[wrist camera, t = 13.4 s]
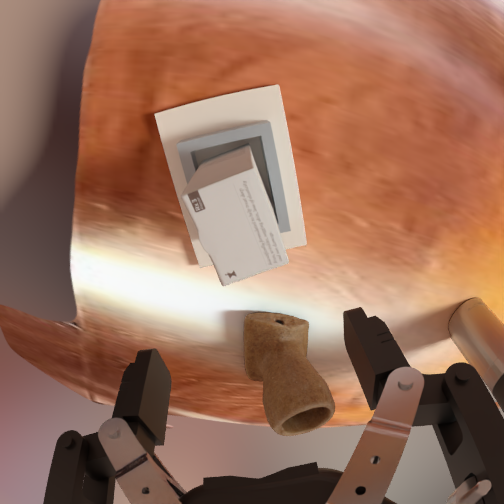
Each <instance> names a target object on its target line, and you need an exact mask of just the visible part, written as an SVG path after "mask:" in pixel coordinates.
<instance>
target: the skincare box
mask: <svg viewBox="0 0 504 504" xmlns="http://www.w3.org/2000/svg"><path fill="white" fill-rule="evenodd" d="M181 199H182V201H183V203H184V205H185V207H186V209H187V211H188V213H189V215H190V217H191V219H192V221H193V223H194V225H195V228H196V230H197V232H198V235H199V240H200V243H201V245H202V247H203V249H204V250H205V251H206V252H207V253H208V255H209V257H210V259H211V261H212V263H213V265H214V267H215V269H216V272H217V274H218V277H219V280H220V282H221V284H222V285H223V286H226V285H229V284H231V283H234V282H237V281H240V280H243V279H246V278H249V277H251V276H254V275H257V274H259V273H262V272H265V271H267V270H271V269H274V268H277V267H280V266H283V265H285V264H288V263H289V260H288V256H287V253H286V250H285V246H284V243H283V240H282V237H281V234H280V230H279V227H278V224H277V220H276V217H275V214H274V210H273V207H272V204H271V201H270V198H269V197H268V194H267V192H266V190H265V187H264V185H263V182H262V179H261V177H260V174H259V171H258V168H257V166H256V163H255V160H254V157H253V154H252V151H251V147H250V144H249V143H247V144H244V145H242V146H239V147H236V148H234V149H231V150H229V151H226V152H223V153H221V154H218V155H216V156H213V157H211V158H208V159H206V160H203V161H202V163H201V164H200V166H199V167H198V169H197V170H196V172H195V173H194V175H193V176H192V178H191V180H190V181H189V183H188V184H187V186H186V188H185V189H184V191H183V192H182V194H181Z"/></svg>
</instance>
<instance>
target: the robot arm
mask: <svg viewBox="0 0 504 504" xmlns="http://www.w3.org/2000/svg"><path fill="white" fill-rule="evenodd" d="M343 318H344V340H345V346H346V349H347V352H348V355H349V357H350V359H351V362H352V364H353V367H354V369H355V372H356V374H357V377H358V379H359V382H360V384H361V387H362V389H363V392H364V394H365V397H366V399H367V402H368V405H369V407H370V410H374V409H376V410H375V412H374V415H373V417H372V419H371V421H369V422H368V423H367V425H366V427H365V429H364V432H363V434H362V436H361V438H360V441H359V442H358V445H357V447H356V449H355V451H354V453H353V455H352V457H351V459H350V461H349V463H348V465H347V467H346V469H345V470H344V472H341V471H338V470H334V469H328V468H318V466H317V462H314V463H310V464H304V465H300V466H295V467H289V468H286V469H284V470H281V471H279V472H276V473H274V474H271V475H269V476H266V477H263V478H259V479H256V478H246V477H236V476H221V477H209V478H204V480H203V481H204V482H203V485H200V486H198V487H196V488H194V489H192V490H190V491H188V492H186V491H185V490H184V489H183V488H182V487H181V486H180V485H179V483H178V482H177V481H176V480H175V479H174V477H173V476H172V475H171V474H170V472H169V471H168V470H167V469H166V467H165V466H164V465H163V463H162V462H161V461H160V459H159V458H158V457H157V455H156V454H155V453H154V448H155V446H157V445H164V440H165V431H166V421H167V414H168V406H169V398H170V391H171V376H170V373H169V370H168V369H167V367H166V365H165V363H164V361H163V360H162V358H161V356H160V354H159V352H158V351H157V349H155V348H154V349H147V350H140V351H138V353H137V357H136V360H135V363H130V365H129V366H128V367H127V369H126V370H125V371H124V374H123V378H122V381H121V382H122V383H121V385H120V388H119V389H120V391H119V392H118V396H117V400H116V404H115V407H114V411H113V415H112V418H111V419H109V420H107V421H105V422H104V423H103V424H102V425H101V427H100V429H99V431H98V432H96V433H93V434H89V435H86V436H81V435H80V434H79V433H78V432H77V431H74V430H70V431H67V432H65V433H64V434H62V435H61V436H60V437H59V439H58V440H57V443H56V447H55V451H54V455H53V459H52V464H51V468H50V473H49V477H48V482H47V487H46V492H45V497H44V503H43V504H113V500H114V489H115V479H116V480H117V482H118V484H119V485H120V487H121V489H122V490H123V492H124V494H125V495H126V497H127V498H128V500H129V502H130V503H131V504H397V503H395V502H393V501H391V500H389V499H388V498H386V497H385V494H386V492H387V489H388V487H389V485H390V483H391V481H392V478H393V475H394V473H395V471H396V469H397V466H398V464H399V461H400V458H401V456H402V453H403V451H404V448H405V445H406V442H407V440H408V437H409V434H410V429H411V427H412V426H425V425H433V428H434V430H435V433H436V436H437V438H438V441H439V444H440V446H441V449H442V451H443V454H444V457H445V460H446V462H447V465H448V468H449V471H450V474H451V476H452V479H453V482H454V485H455V488H456V490H455V491H454V492H453V493H452V494H451V495H450V496H449V498H448V500H447V502H446V504H504V419H503V417H502V415H501V413H500V411H499V409H498V407H497V405H496V404H495V402H494V400H493V398H492V396H491V395H490V393H489V392H488V389H487V388H486V386H485V384H484V382H485V383H486V385H487V386H488V388H489V390H490V391H491V393H492V394H493V396H494V397H495V399H496V400H497V402H498V404H499V405H500V407H501V409H502V410H503V412H504V324H503V323H502V322H501V321H500V320H499V319H498V318H497V316H496V315H495V314H494V313H493V312H492V311H491V310H490V309H489V308H488V307H487V305H486V304H485V303H484V302H483V301H482V300H481V299H479V298H472V299H470V300H468V301H466V302H465V303H463V304H462V305H461V306H460V307H459V308H458V309H457V310H456V311H455V313H454V314H453V316H452V317H451V320H450V322H449V332H450V333H451V339H452V340H453V342H454V343H455V344H456V346H457V347H458V349H459V350H460V351H461V353H462V354H463V356H464V357H465V358H466V360H467V361H468V363H469V364H467V363H455V364H453V365H451V366H450V367H449V368H448V369H447V371H446V373H443V374H431V375H427V374H421V372H419V371H418V370H417V369H415V368H412V367H410V365H409V364H408V362H407V360H406V358H405V357H404V355H403V353H402V351H401V350H400V348H399V346H398V344H397V343H396V341H395V340H394V337H393V336H392V334H391V333H390V331H389V329H388V327H387V326H386V324H385V322H383V321H382V320H381V319H379V318H378V317H376V316H373V317H369V318H367V316H366V314H365V312H364V311H363V309H362V308H361V307H359V308H355V309H351V310H348V311H344V313H343ZM478 373H479V374H478ZM480 376H481V377H480ZM481 378H482V379H483V380H482V379H481ZM483 381H484V382H483ZM84 474H85V475H84ZM83 480H84V481H83ZM82 487H83V488H82Z"/></svg>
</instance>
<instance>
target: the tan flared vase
mask: <svg viewBox="0 0 504 504" xmlns="http://www.w3.org/2000/svg"><path fill="white" fill-rule="evenodd" d="M308 329H309V323H308V321H306V320H303V319H299V318H296V317H294V316H289V315H284V314H280V313H276V314H275V313H268V312H264V313H259V312H258V313H253V314H248V315H247V316H246V317H245V321H244V360H245V370H246V373H247V376H248V377H249V378H250V379H251V380H254V381H263V405H264V409H265V413H266V417H267V420H268V422H269V424H270V426H271V428H272V429H273V430H274V431H275V432H276V433H278V434H280V435H283V436H293V435H299V434H303V433H307V432H310V431H313V430H315V429H317V428H319V427H321V426H322V425H324V424H325V423H326V422H328V421H329V420H330V419H331V418H332V416H333V414H334V412H335V403H334V400H333V397H332V395H331V392H330V390H329V387H328V385H327V384H326V382H325V381H324V379H323V378H322V377H321V376H320V375H319V374H318V373H317V371H316V370H315V369H314V368H313V367H312V365H311V364H310V363H309V361H308V360H307V359H306V354H307V343H308Z"/></svg>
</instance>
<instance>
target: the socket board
mask: <svg viewBox="0 0 504 504" xmlns="http://www.w3.org/2000/svg"><path fill="white" fill-rule="evenodd" d="M154 115H155V119H156V123H157V126H158V130H159V134H160V137H161V141H162V145H163V148H164V152H165V156H166V159H167V163H168V166H169V170H170V173H171V177H172V180H173V183H174V187H175V190H176V194H177V197H178V200H179V204H180V207H181V210H182V213H183V217H184V220H185V223H186V226H187V229H188V233H189V236H190V239H191V242H192V245H193V248H194V251H195V254H196V257H197V261H198V264H199V267H200V268H203V267H207V266H212V265H213V263H212V261H211V259H210V257H209V255H208V253H207V252H206V251H205V250H204V249H203V247H202V245H201V243H200V240H199V235H198V232H197V230H196V228H195V225H194V223H193V221H192V219H191V217H190V215H189V213H188V211H187V209H186V207H185V205H184V203H183V201H182V199H181V194H182V192H183V191H184V189H185V188H186V186H187V184H188V183H189V181H190V180H191V178H192V176H193V175H194V173H195V172H196V170H197V169H198V167H199V166H200V164H201V163H202V161H203V160H206V159H208V158H211V157H213V156H216V155H218V154H221V153H223V152H226V151H229V150H231V149H234V148H236V147H239V146H242V145H244V144H247V143H249V144H250V147H251V151H252V154H253V157H254V160H255V163H256V166H257V168H258V171H259V174H260V177H261V179H262V182H263V185H264V187H265V190H266V192H267V194H268V197H269V198H270V201H271V204H272V207H273V210H274V214H275V217H276V220H277V224H278V227H279V230H280V234H281V237H282V240H283V243H284V246H285V249H290V248H294V247H299V246H303V245H307V241H306V234H305V227H304V220H303V214H302V208H301V201H300V195H299V189H298V183H297V177H296V171H295V165H294V160H293V154H292V149H291V143H290V138H289V133H288V127H287V122H286V117H285V112H284V107H283V102H282V97H281V92H280V88H279V85H273V86H267V87H261V88H256V89H251V90H246V91H241V92H236V93H231V94H227V95H222V96H218V97H214V98H210V99H206V100H202V101H198V102H194V103H190V104H186V105H183V106H179V107H176V108H172V109H169V110H165V111H162V112H159V113H156V114H154Z"/></svg>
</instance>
